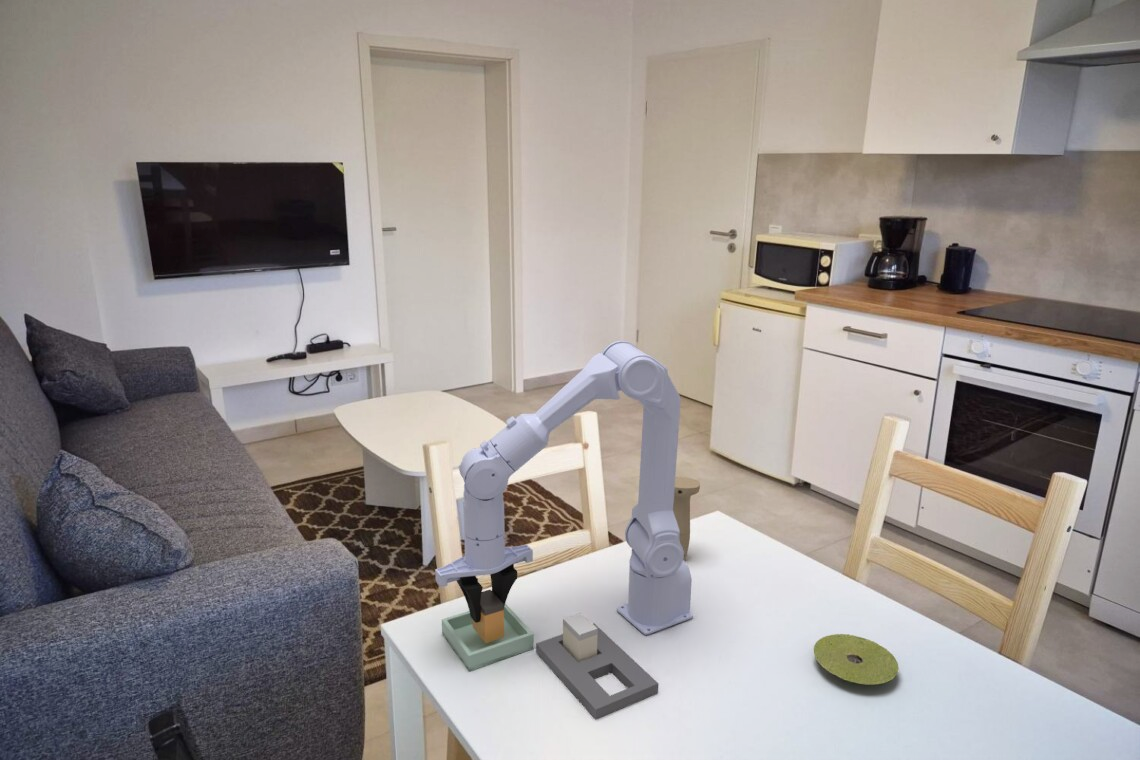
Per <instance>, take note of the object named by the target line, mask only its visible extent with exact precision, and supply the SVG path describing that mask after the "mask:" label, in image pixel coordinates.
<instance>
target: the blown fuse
mask: <svg viewBox="0 0 1140 760" xmlns="http://www.w3.org/2000/svg"><path fill="white" fill-rule="evenodd" d="M480 610H481V619H480V622H477V623H475V621H474V620H473V628H474V630H475V631H476V632H477V633H478V635H479V636H480V637H481V638H482V640H483V641H484V642H485V643H488V642H491V641H494V640H497V639H500V638H503V637H504V604H503V603H502V602H501V600H500V599H499V598H498V597H497V596H496V595H495V594H494V593H493V592H492V588H491V589H486V590H482V593H481V600H480Z"/></svg>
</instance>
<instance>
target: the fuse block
mask: <svg viewBox="0 0 1140 760" xmlns="http://www.w3.org/2000/svg"><path fill="white" fill-rule="evenodd" d="M592 624H593V625H594V626H596V627H597V628H598V633H597V655H596V656H593V657H591V658H588V659H585V660H583V661H580V662H577V661H576V660H575V659H574V658H573V657H572V656H571V654H570V653H569V652H568V651H567V650H566V649H565V648H564V647H563V633H562V634H558V635H556V636H553V637H550V638H548V639H545V640H542V641H539V642H536V643H535V653H536V654H537V656H539V658H540V659H541V660H542V661H543V662H544V663H545V664H546V665H547V666H548V668H550V670H551V671H552V673H554V675H555V676H556V677H557V678H558V679H559V680H560V681H561V683H563V685H565V687H566V688H567V689H568V690H569V691H570V692H571V694H573V695H574V697H575V699H577V700H578V701H579V703H580V704H581V705H582V706H583V707H584V709H586V711H588V713H589V714H590V715H591V716H592V717H593V718H594V720H599V719H600V718H602V717H604V716H607V715H610V714H611V713H614V712H617V711H619V710H621V709H623V708H625V707H627V706H628V707H629V706H630V705H633V704H635V703H638V702H640V701H642V700H644V699H647V698H649V697H652V696H654V695H657V694H659V682H658V681H657V680H656V679H654V678H653V677H652V675H650V674H649V673H648V672H647V671H646V670H645V669H644V668H643V667H642V666H641V665H639V663H637V662H636V661H635V660H634V659H633V658H632V657H631V656H630V655H629V653H627V652H626V651H624V650H623V649H622V647H620V646H619V645H618V644H617V642H615V641H614V640H613V639H612V638H611V637H609V636H608V634H606V633H605V632H604V631H603V630H602V629H601V628H600V627H599V626H598V625H597V624H595V622H592ZM610 673H612V674H613V675H614V676H615V677H616V678H617V680H619V681H620V682H621V683H622V684H623V685H624V686H625V687H626V688H625V689H624V690H620V691H618V692H616V693H614V694H611V695H610V694H609V693H608V692H607V691H606V690H605V689H604V688H603V687H602V686H601V685H600V684H599V683H598V682H597V681H596V679H598V678H600V677H602V676H605V675H608V674H610Z"/></svg>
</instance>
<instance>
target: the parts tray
mask: <svg viewBox="0 0 1140 760" xmlns="http://www.w3.org/2000/svg"><path fill="white" fill-rule="evenodd" d="M441 634H442V636H443V637H444V638H445V639H446V641H447V643H448V644H449V645H450V647H451V648H452V649H453V651H454V652H455V654H456V655H457V656H458V658H459V659H460V661H461V662H462V663H463V665H464V666H465V667H466V668H467V670H468V672H472V671H476V670H477V669H480V668H483V667H486V666H489V665H492V664H494V663H497V662H500V661H503V660H506V659H509V658H512V657H514V656H517V655H520V653H521V654H523V653H526V652H529V651H532V650H534V649H535V648H534V647H535V645H534V642H535V640H534V639H535V638H534V636H535V634H534V632H532V630H531V629H530V628H528V626H527V625H526V624H525V622H523V620H521V618H520V617H519V616H518V615H517V614H516V613H515V612H514V611H513V609H511V607H509V606H508V603H507V602H506V603H505V606H504V637H503V638H500V639H497V640H494V641H491V642H488V643H485V642H484V641H483V640H482V638H481V637H480V636H479V635H478V633H477V632H476V631H475V630H474V628H473V619H472V618H471V616H470V611H469V610H467V611H464V612H462V613H458V614H454V615H451V616H449V617H444V618H442V619H441ZM528 650H529V651H528Z"/></svg>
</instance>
